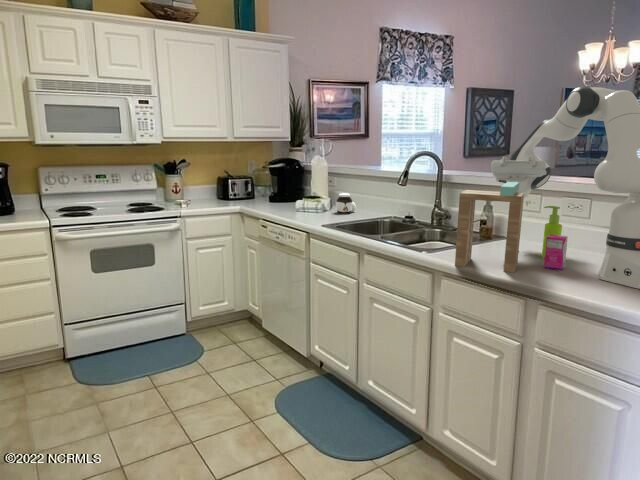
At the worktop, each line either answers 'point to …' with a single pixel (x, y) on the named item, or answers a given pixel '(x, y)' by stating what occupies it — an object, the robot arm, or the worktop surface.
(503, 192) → the bar
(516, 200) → the bridge
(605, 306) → the worktop surface
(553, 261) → the supplement box
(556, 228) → the soap dispenser
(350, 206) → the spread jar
